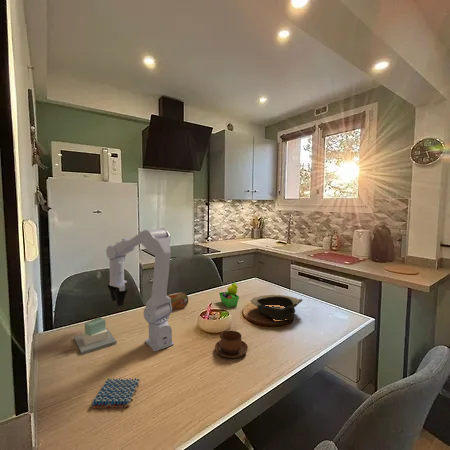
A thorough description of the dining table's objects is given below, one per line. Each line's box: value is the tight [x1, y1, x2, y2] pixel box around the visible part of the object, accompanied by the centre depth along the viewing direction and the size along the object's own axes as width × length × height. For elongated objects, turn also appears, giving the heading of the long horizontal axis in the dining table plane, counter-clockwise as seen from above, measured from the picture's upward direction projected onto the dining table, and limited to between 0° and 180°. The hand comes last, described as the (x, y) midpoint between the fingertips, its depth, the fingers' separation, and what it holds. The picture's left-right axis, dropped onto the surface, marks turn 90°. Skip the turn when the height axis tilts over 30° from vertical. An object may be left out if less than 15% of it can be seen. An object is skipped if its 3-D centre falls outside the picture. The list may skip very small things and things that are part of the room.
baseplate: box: [73, 327, 117, 356], centre depth 101 cm, size 14×12×4 cm
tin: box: [167, 292, 189, 313], centre depth 133 cm, size 15×3×8 cm, turn 125°
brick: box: [84, 317, 107, 336], centre depth 101 cm, size 4×6×4 cm, turn 149°
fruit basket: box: [218, 282, 240, 308], centre depth 141 cm, size 11×9×11 cm
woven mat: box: [90, 378, 140, 409], centre depth 73 cm, size 10×11×2 cm
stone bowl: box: [250, 294, 303, 320], centre depth 129 cm, size 25×25×9 cm
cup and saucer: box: [214, 330, 249, 359], centre depth 95 cm, size 12×12×6 cm
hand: (117, 302), depth 114 cm, fingers open, 7 cm apart
